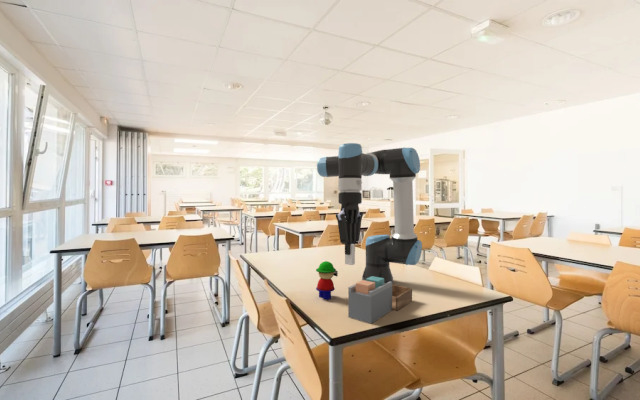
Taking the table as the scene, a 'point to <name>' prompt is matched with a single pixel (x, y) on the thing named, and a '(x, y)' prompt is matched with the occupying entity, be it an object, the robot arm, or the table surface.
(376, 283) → the teal square block
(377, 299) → the grey stepped block
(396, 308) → the crate
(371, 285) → the salmon pink square block
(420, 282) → the table surface
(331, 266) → the toy
